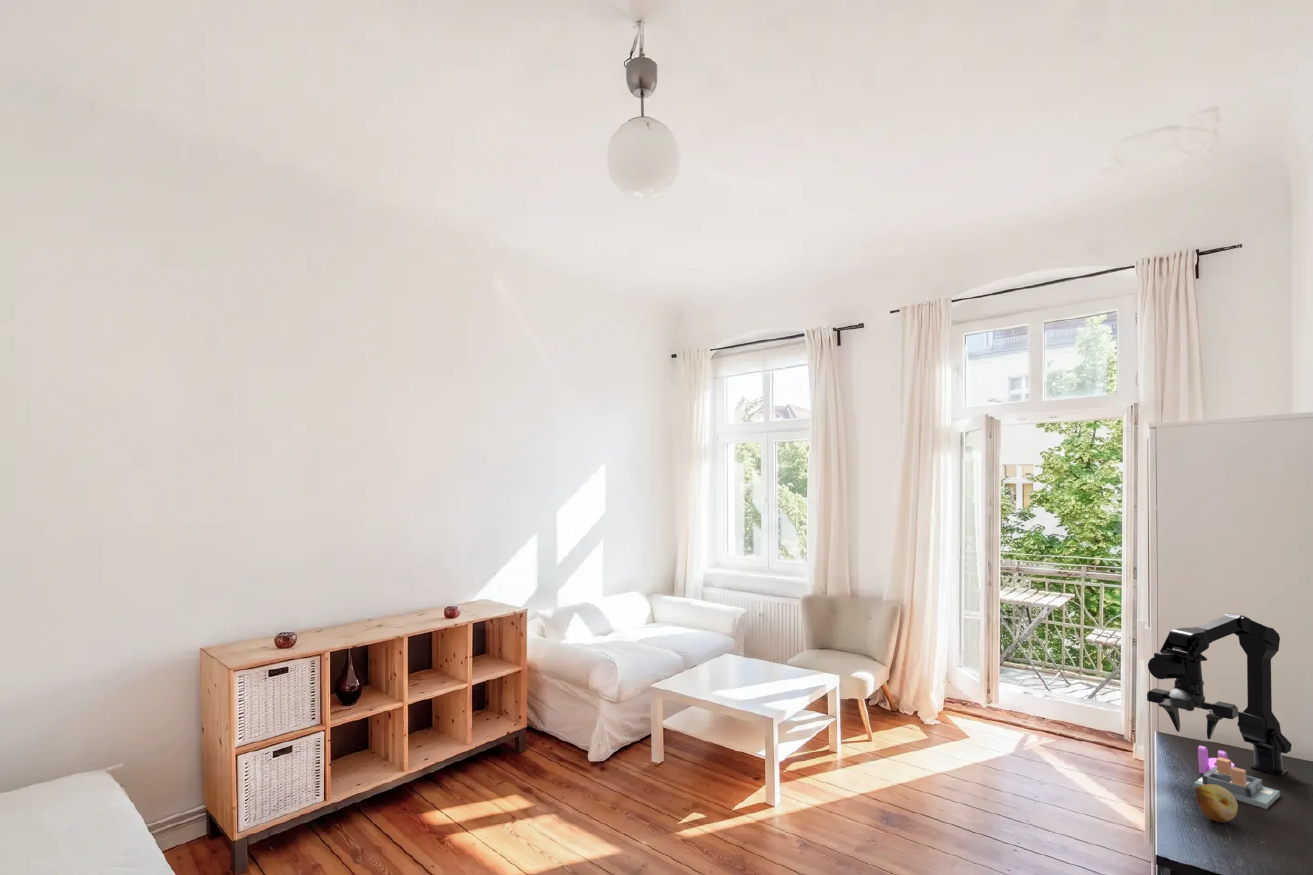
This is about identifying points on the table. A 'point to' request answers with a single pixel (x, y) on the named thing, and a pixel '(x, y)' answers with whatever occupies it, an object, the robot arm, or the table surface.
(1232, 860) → the table surface
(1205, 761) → the bracket
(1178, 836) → the table surface
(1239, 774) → the tab
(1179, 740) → the table surface
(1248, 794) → the switch plate
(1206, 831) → the table surface
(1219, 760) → the tab
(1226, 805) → the fruit
